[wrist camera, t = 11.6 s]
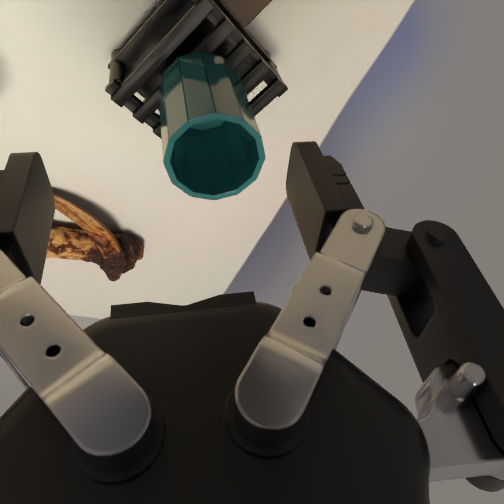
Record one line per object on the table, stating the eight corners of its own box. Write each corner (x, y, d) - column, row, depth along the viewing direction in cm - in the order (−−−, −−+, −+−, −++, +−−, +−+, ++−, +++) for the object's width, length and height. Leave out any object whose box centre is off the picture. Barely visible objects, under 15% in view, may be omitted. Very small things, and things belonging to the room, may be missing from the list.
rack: (190, -39, 33) (200, -11, 28) (271, 56, 39) (290, 92, 35) (108, 56, 37) (104, 94, 32) (194, 129, 43) (201, 170, 38)
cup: (200, 32, 30) (216, 92, 24) (257, 93, 34) (283, 157, 28) (142, 94, 33) (143, 163, 26) (201, 144, 36) (214, 213, 30)
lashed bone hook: (154, 202, 49) (-33, 172, 42) (157, 229, 46) (-45, 202, 39) (138, 260, 55) (-29, 243, 48) (140, 288, 51) (-40, 274, 44)
